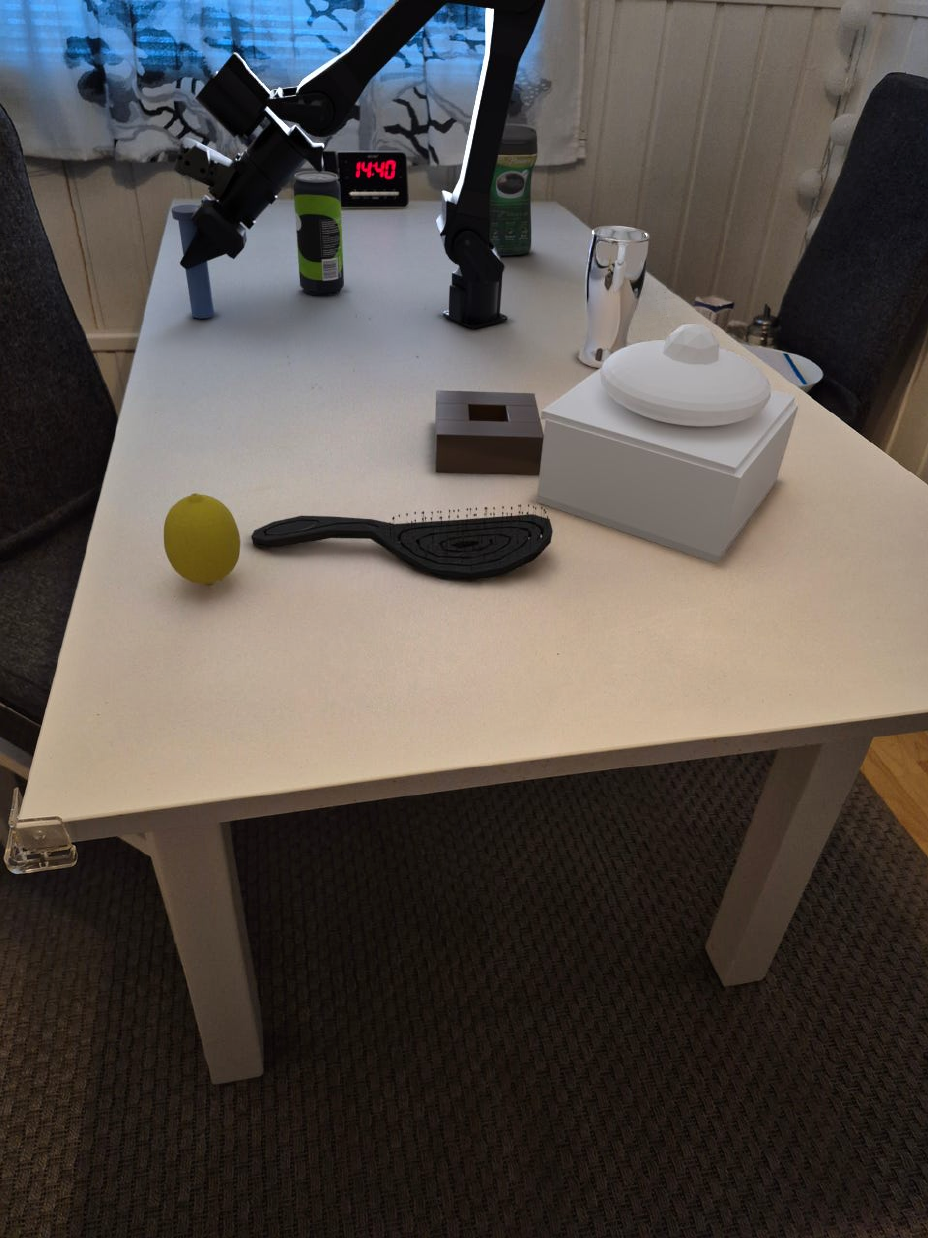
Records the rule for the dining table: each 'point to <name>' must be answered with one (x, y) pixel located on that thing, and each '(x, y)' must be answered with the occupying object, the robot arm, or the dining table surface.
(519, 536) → the hairbrush
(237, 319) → the dining table surface
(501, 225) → the coffee jar
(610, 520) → the white lidded box
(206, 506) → the lemon
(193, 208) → the peg
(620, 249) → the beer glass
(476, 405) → the stand
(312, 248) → the beverage can
